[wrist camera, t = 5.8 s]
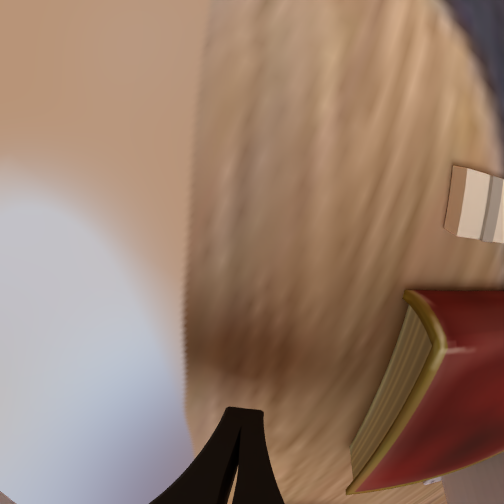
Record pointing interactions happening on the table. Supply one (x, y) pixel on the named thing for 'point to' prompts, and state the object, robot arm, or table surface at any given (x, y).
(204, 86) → the table surface
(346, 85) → the table surface
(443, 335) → the hardcover book
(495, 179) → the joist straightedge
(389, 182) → the table surface
